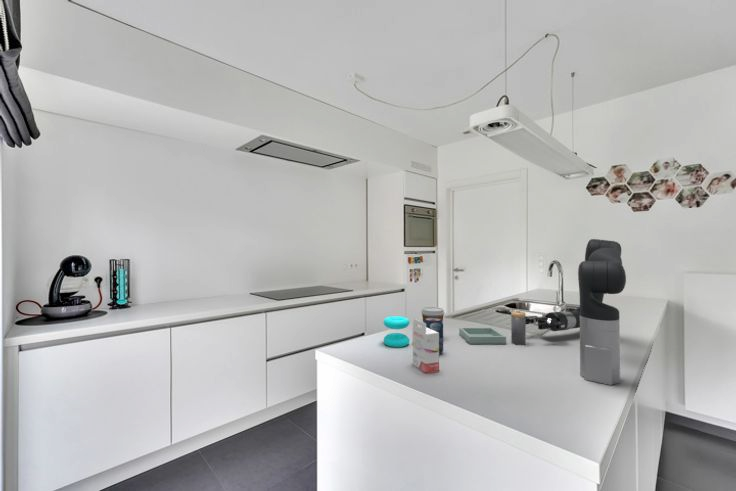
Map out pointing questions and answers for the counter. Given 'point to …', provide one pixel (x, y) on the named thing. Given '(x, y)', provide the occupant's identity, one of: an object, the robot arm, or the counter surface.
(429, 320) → the soda can
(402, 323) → the donuts
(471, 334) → the bin
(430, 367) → the ink cartridge box
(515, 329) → the battery
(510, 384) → the counter surface
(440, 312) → the disposable coffee cup
